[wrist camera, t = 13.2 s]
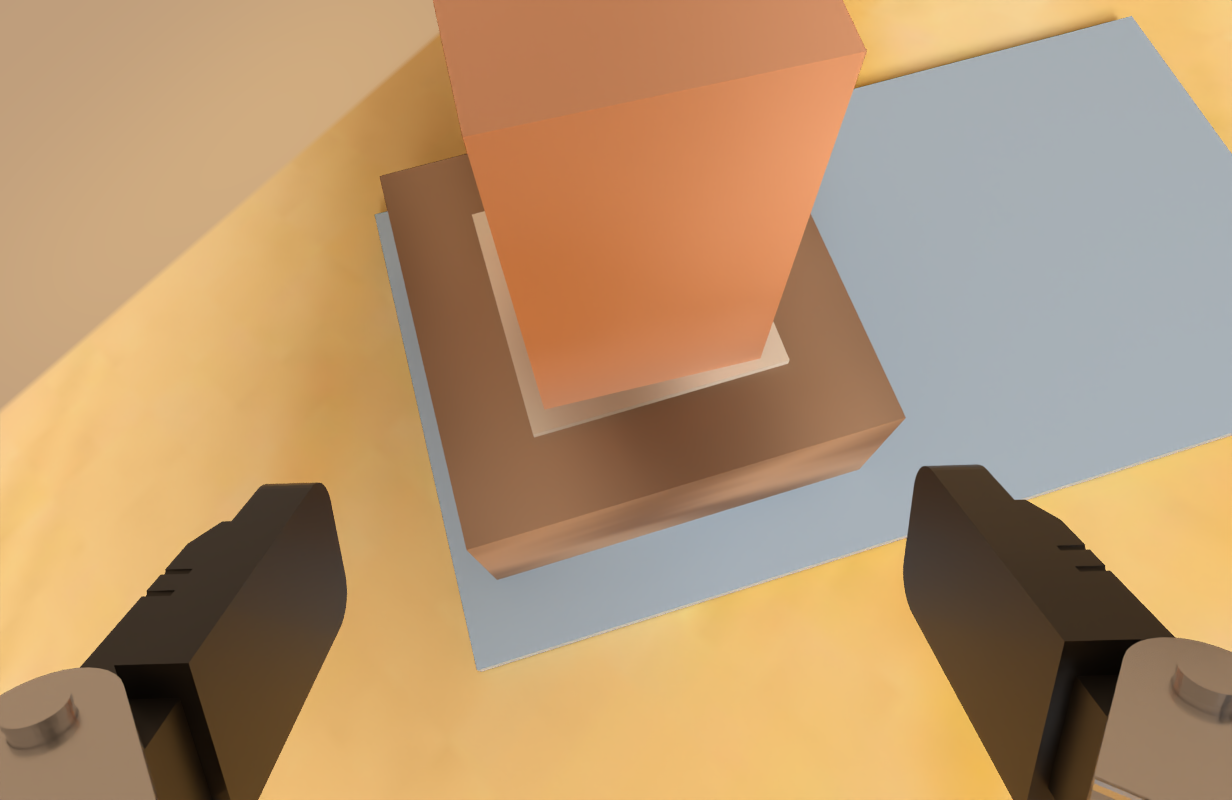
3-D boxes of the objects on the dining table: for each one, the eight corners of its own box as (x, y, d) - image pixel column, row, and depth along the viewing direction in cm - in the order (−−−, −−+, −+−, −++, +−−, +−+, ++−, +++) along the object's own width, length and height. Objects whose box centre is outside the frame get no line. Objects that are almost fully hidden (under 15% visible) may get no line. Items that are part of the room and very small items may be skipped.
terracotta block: (699, 181, 20) (744, -207, 12) (760, 358, 18) (866, 51, 10) (502, 224, 20) (401, -142, 11) (544, 409, 18) (461, 137, 9)
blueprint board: (1121, 30, 28) (1132, 16, 27) (1377, 389, 23) (1396, 381, 22) (380, 225, 25) (374, 214, 25) (481, 671, 20) (477, 670, 20)
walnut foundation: (732, 175, 25) (749, 75, 21) (859, 469, 21) (908, 414, 18) (418, 259, 24) (377, 171, 20) (497, 580, 21) (464, 548, 17)
